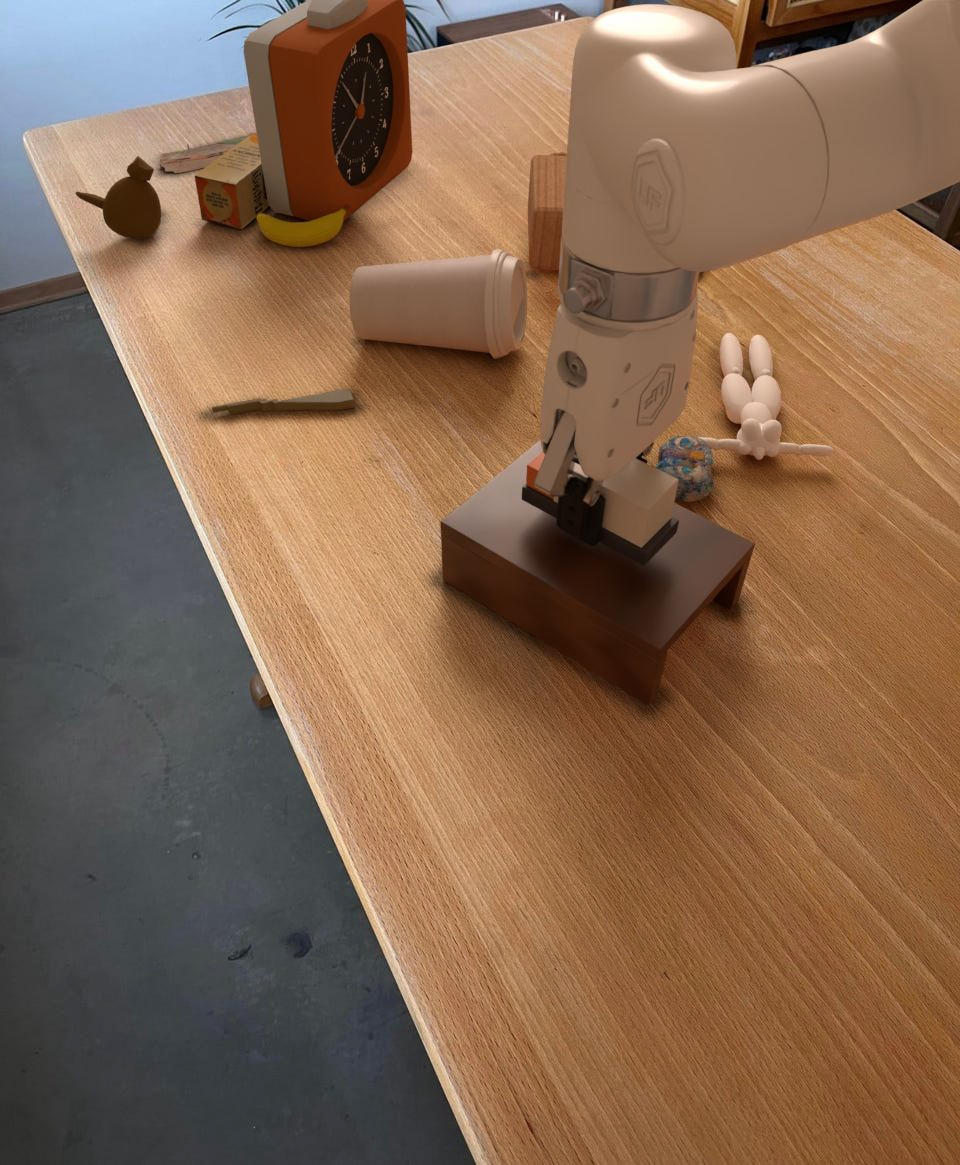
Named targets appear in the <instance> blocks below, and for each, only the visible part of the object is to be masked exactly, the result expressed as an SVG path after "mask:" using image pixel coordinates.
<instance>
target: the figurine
mask: <svg viewBox="0 0 960 1165" xmlns="http://www.w3.org/2000/svg"><path fill="white" fill-rule="evenodd" d="M154 170H155V168H153V166H151V165H150V164H148V162H146V161H145V160H144V159H143V158H142V157H140V155H137V156H136V157H135V159H134V160H133V161H132V162H131V163H130V164H128V166H127V168H126V172H127V174H128V175H129V176H125V177H123V178H122V177H121V178H120V179H119V180H117V181H115V182H114V183H113V185H112V186H110V188H109V190H108V191H107V192H106V195H105V197H102V196H99V195H97V194H94V193H89V192H81V191H75V195H76V197H78V199H80V200H82V201H84V202H86V203H88V204H90V205H92V206H95V207H96V208H98V209H101V210H102V216H103V221H104V223H105V225H107V228H109V229H110V230H111V231H112V232H113V233H115V234H116V235H119V236H121V237H123V238H126V239H132V240H144V239H148V238H150V237H152V236H154V234H155V233H156V232H157V230H158V228H159V227H160V224H161V221H162V206H161V200H160V198H159V195H158V193H157V191H156V189H155V187H154V186H153V185H152V184H151V183H150V181H151V179H152V176H153V174H154V172H155V171H154Z"/></svg>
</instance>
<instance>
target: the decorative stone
mask: <svg viewBox="0 0 960 1165" xmlns="http://www.w3.org/2000/svg"><path fill="white" fill-rule="evenodd" d="M698 437H699V436H694V435H688V434H684V435H677V436H673V437H671V438H669V439H667V440H666V441H664V442H663V443H662V444H661V446H660V447H659V449H658V450H659V451H658V457H657V464H656V465H655V468H656V469H658V470H660V471H662V472H664V473H666V474H668V475H670V476H672V477H675V478H677V479H678V480H679V481H678V486H677V491H676V496H675V501H680V502H684V503H693V502H695V501H700V500H703V499H704V500H705V499H706V498H707V496H708V495H710V494H711V492H712V490H713V489H714V486H715V485H714V480H713V479H714V478H713V474H712V465H713V463H714V459H713V457H714V456H713V455H714V453H713V451H712V449H711V447H710V446H709V445H708V443H707V442H705V441H704V440H702V439H700V438H698Z"/></svg>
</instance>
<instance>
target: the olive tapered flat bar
mask: <svg viewBox="0 0 960 1165" xmlns="http://www.w3.org/2000/svg"><path fill="white" fill-rule="evenodd" d="M355 407H356V404H355V398H354V395H353V393H352V390H351V388H344V389H339V390H334V391H327V392H322V393H316V394H311V395H305V396H300V397H293V398H287V399H282V400H278V399H277V398H273V399H266V398H254V399H249V400H243V401H238V402H232V403H231V402H230V403H226V404H219V405H215V406H211V410H212V413H213V414H214V413H220V412H226V411H227V413H228V415H235V414H240V413H241V414H242V413H245V412H253V411H258V410H261V411H262V412H267V411H268V412H269V411H273V410H274V411H275V412H279V411H342V410H348V409H353V408H355Z"/></svg>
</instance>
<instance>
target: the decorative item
mask: <svg viewBox="0 0 960 1165" xmlns="http://www.w3.org/2000/svg"><path fill="white" fill-rule="evenodd" d="M566 158H567V152H563V151H559V152H553V153H551V154H535V155H533V156H532V158H531V160H530V165H529V166H530V169H529V182H528V183H529V184H528V197H527V199H528V200H527V227H528V228H527V233H528V234H527V235H528V236H527V237H528V239H527V240H528V264H529V266H530V268H531V269H533V270H543V271H559V264H560V249H561V234H562V222H563V206H564V190H565V174H566Z"/></svg>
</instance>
